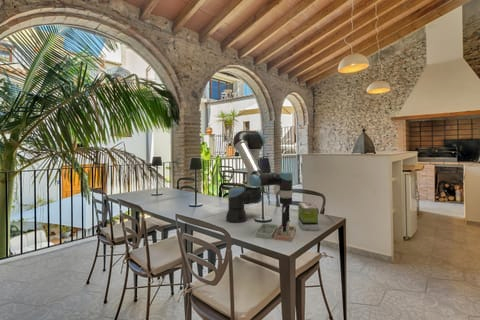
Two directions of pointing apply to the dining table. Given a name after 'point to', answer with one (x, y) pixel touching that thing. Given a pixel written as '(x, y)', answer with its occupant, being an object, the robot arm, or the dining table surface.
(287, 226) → the letter block
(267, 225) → the tray
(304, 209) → the tea box
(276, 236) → the tray
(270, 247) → the dining table surface
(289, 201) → the robot arm
